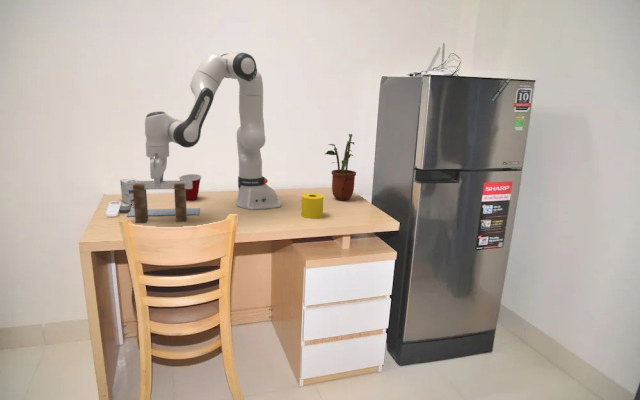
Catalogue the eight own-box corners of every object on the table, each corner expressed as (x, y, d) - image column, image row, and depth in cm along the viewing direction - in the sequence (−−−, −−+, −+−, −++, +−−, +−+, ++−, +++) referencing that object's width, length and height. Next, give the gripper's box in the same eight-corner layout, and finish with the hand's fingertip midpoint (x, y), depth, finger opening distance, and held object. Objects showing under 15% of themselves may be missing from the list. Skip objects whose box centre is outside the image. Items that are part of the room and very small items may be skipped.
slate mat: (199, 209, 196) (199, 208, 196) (198, 215, 188) (198, 213, 188) (131, 210, 189) (131, 209, 189) (126, 217, 181) (126, 215, 181)
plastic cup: (175, 200, 208) (174, 177, 205) (188, 195, 218) (187, 173, 215) (193, 203, 205) (193, 179, 202) (206, 198, 215) (205, 175, 212)
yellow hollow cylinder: (299, 217, 191) (299, 197, 189) (303, 211, 201) (303, 192, 198) (320, 219, 190) (321, 199, 187) (323, 213, 199) (324, 194, 197)
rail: (192, 187, 180) (192, 180, 179) (192, 188, 177) (191, 182, 176) (127, 188, 174) (126, 180, 173) (125, 189, 171) (125, 182, 170)
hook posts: (186, 217, 184) (185, 182, 180) (185, 221, 179) (184, 185, 174) (138, 218, 180) (135, 182, 176) (135, 223, 174) (132, 185, 170)
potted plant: (353, 196, 232) (358, 133, 222) (355, 204, 217) (360, 136, 207) (322, 194, 232) (325, 131, 222) (321, 202, 217) (325, 134, 207)
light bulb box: (144, 203, 201) (142, 181, 198) (129, 206, 197) (127, 183, 194) (135, 198, 209) (133, 177, 206) (121, 200, 204) (119, 179, 201)
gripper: (162, 156, 162) (164, 190, 166) (168, 148, 181) (170, 179, 185) (145, 156, 161) (147, 191, 165) (153, 148, 180) (154, 179, 184)
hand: (159, 184), depth 175 cm, fingers open, 8 cm apart
